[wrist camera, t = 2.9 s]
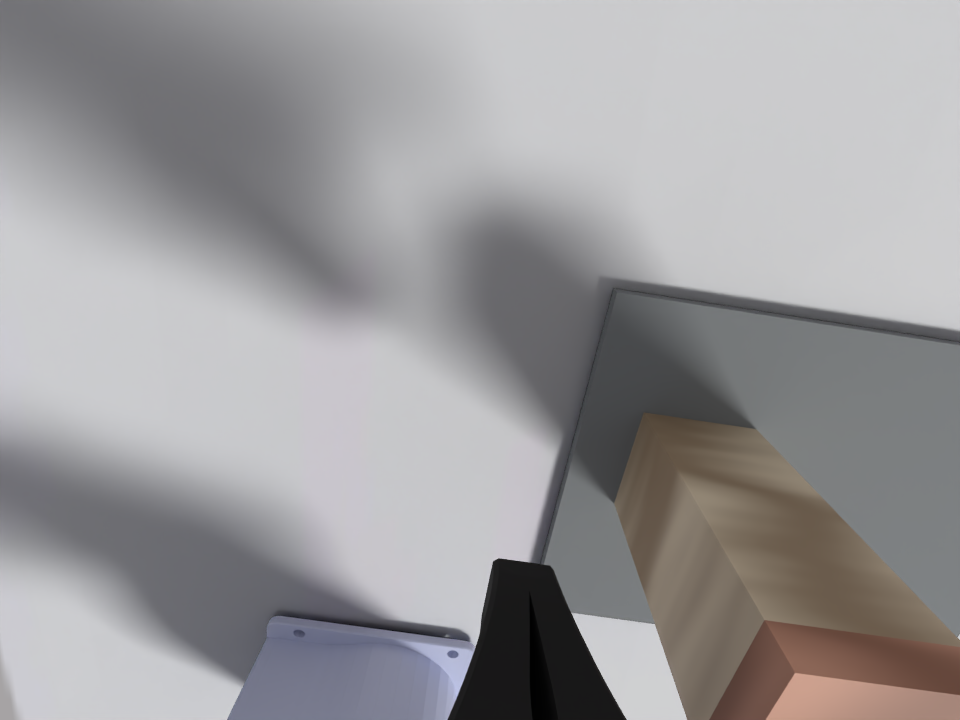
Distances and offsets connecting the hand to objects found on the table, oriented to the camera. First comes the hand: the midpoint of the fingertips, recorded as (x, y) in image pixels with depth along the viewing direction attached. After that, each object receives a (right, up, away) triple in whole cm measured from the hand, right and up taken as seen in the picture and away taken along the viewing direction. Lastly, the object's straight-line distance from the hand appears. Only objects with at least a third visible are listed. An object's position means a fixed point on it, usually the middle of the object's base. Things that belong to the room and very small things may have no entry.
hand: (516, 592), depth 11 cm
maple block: (+7, +2, +6) cm, 9 cm away
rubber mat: (+11, 0, +7) cm, 13 cm away
